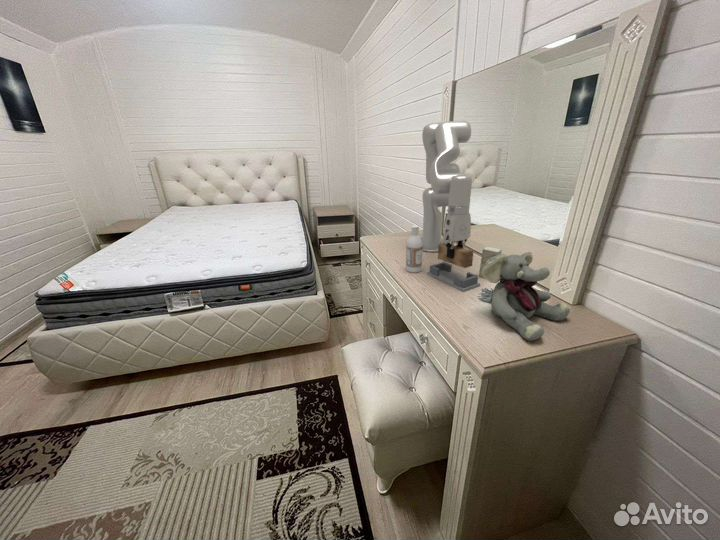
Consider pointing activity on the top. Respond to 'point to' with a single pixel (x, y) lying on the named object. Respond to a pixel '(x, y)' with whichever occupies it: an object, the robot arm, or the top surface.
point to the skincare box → (488, 256)
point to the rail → (453, 277)
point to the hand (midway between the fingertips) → (454, 256)
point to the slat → (456, 256)
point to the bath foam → (414, 251)
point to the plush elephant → (519, 294)
